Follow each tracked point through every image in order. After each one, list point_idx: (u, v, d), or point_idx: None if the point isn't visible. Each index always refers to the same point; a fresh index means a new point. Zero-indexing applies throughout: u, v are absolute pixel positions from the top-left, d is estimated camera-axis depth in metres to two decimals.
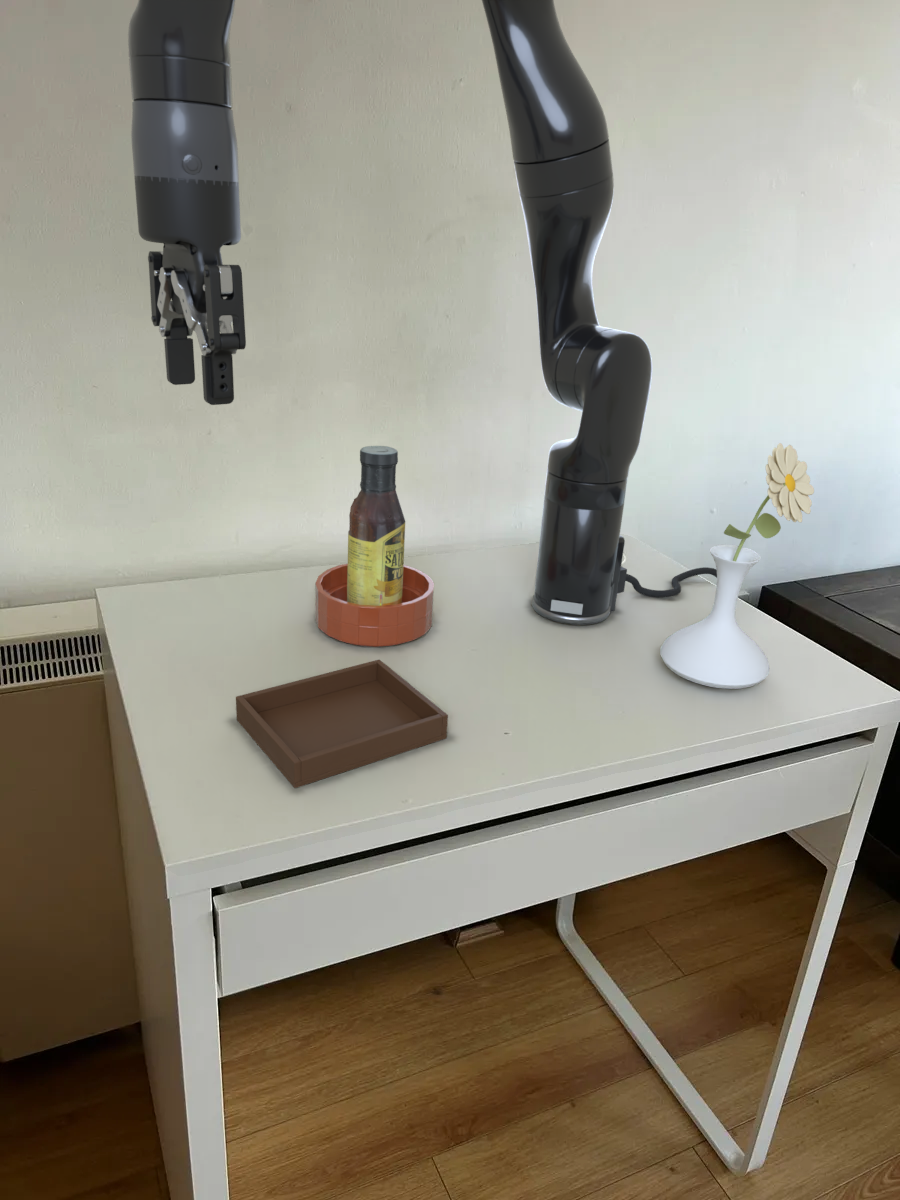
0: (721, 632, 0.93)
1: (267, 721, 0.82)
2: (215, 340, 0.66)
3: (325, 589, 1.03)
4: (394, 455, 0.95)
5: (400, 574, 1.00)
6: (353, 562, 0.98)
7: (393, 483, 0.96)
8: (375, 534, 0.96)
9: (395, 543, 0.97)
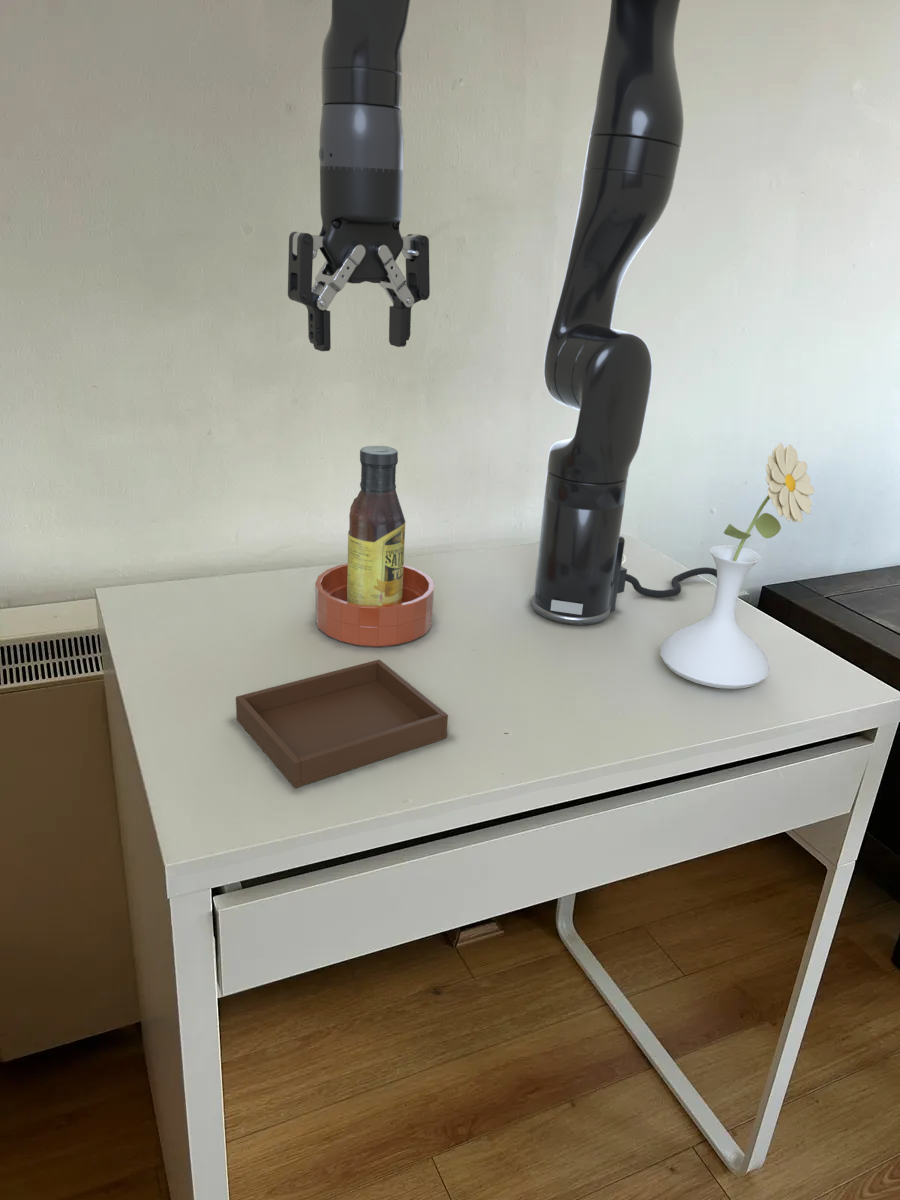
0: (721, 632, 0.93)
1: (267, 721, 0.82)
2: (288, 291, 0.83)
3: (325, 589, 1.03)
4: (394, 455, 0.95)
5: (400, 574, 1.00)
6: (353, 562, 0.98)
7: (393, 483, 0.96)
8: (375, 534, 0.96)
9: (395, 543, 0.97)
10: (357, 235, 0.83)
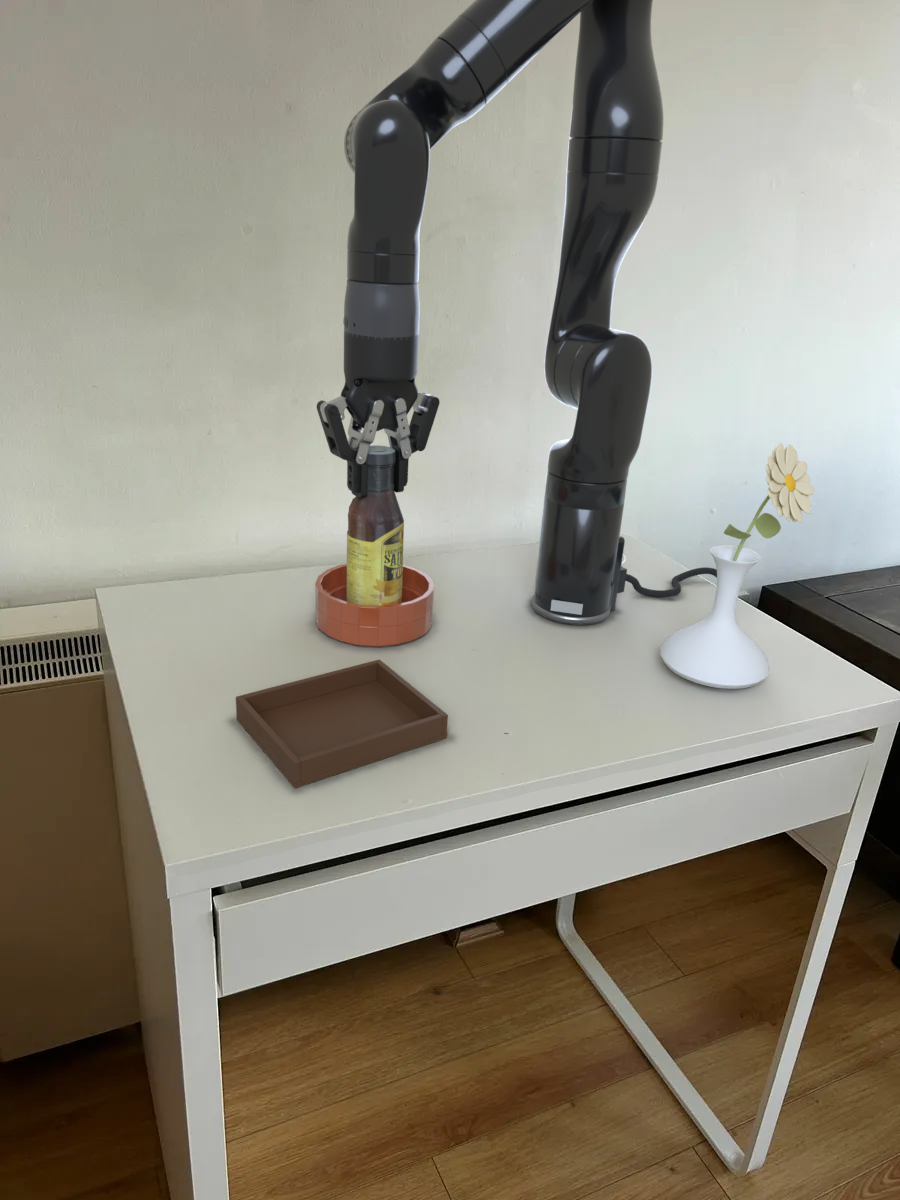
0: (721, 632, 0.93)
1: (267, 721, 0.82)
2: (330, 447, 0.93)
3: (325, 589, 1.03)
4: (391, 454, 0.95)
5: (399, 573, 1.00)
6: (352, 562, 0.98)
7: (391, 483, 0.96)
8: (374, 534, 0.96)
9: (394, 543, 0.97)
10: (377, 390, 0.91)
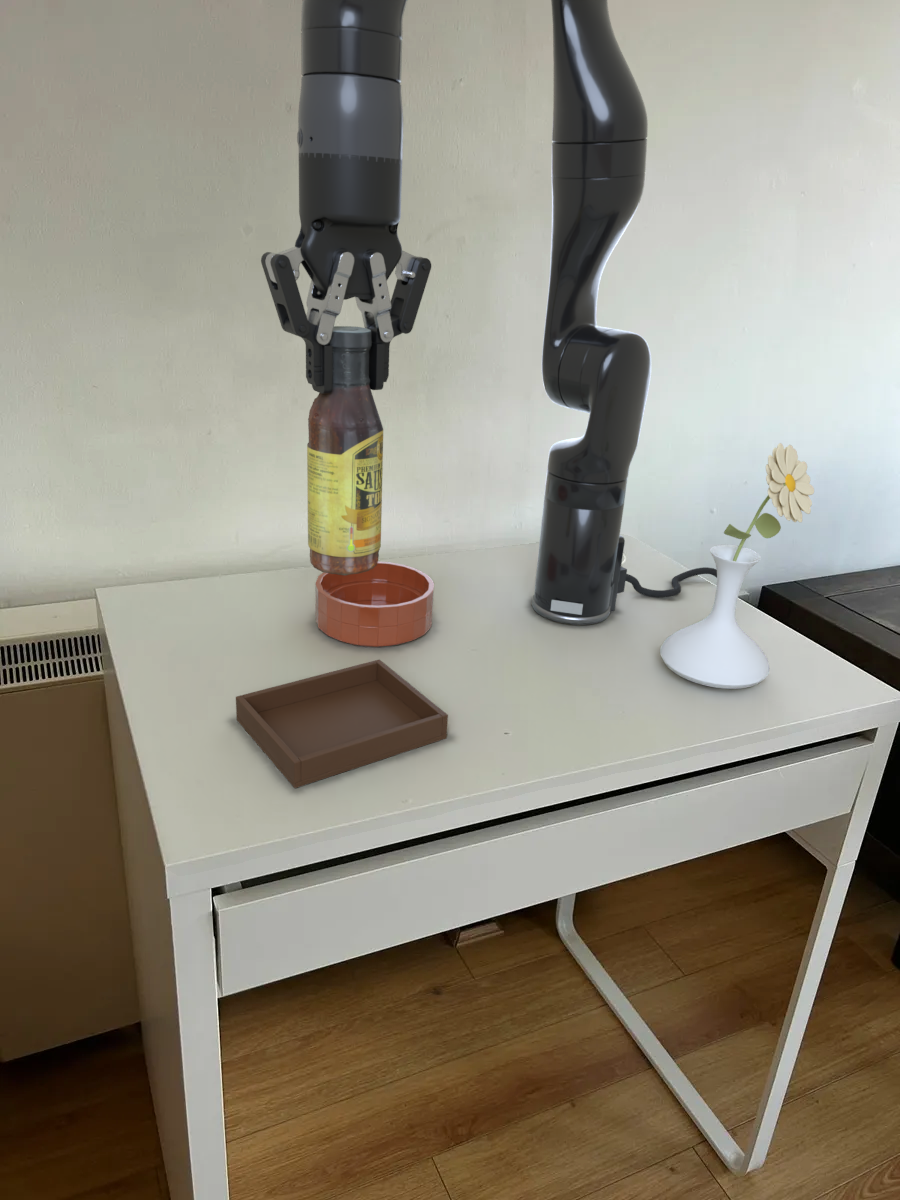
0: (721, 632, 0.93)
1: (267, 721, 0.82)
2: (281, 321, 0.68)
3: (325, 589, 1.03)
4: (366, 334, 0.70)
5: (377, 501, 0.75)
6: (313, 484, 0.73)
7: (366, 375, 0.71)
8: (342, 444, 0.71)
9: (370, 457, 0.72)
10: (344, 240, 0.66)
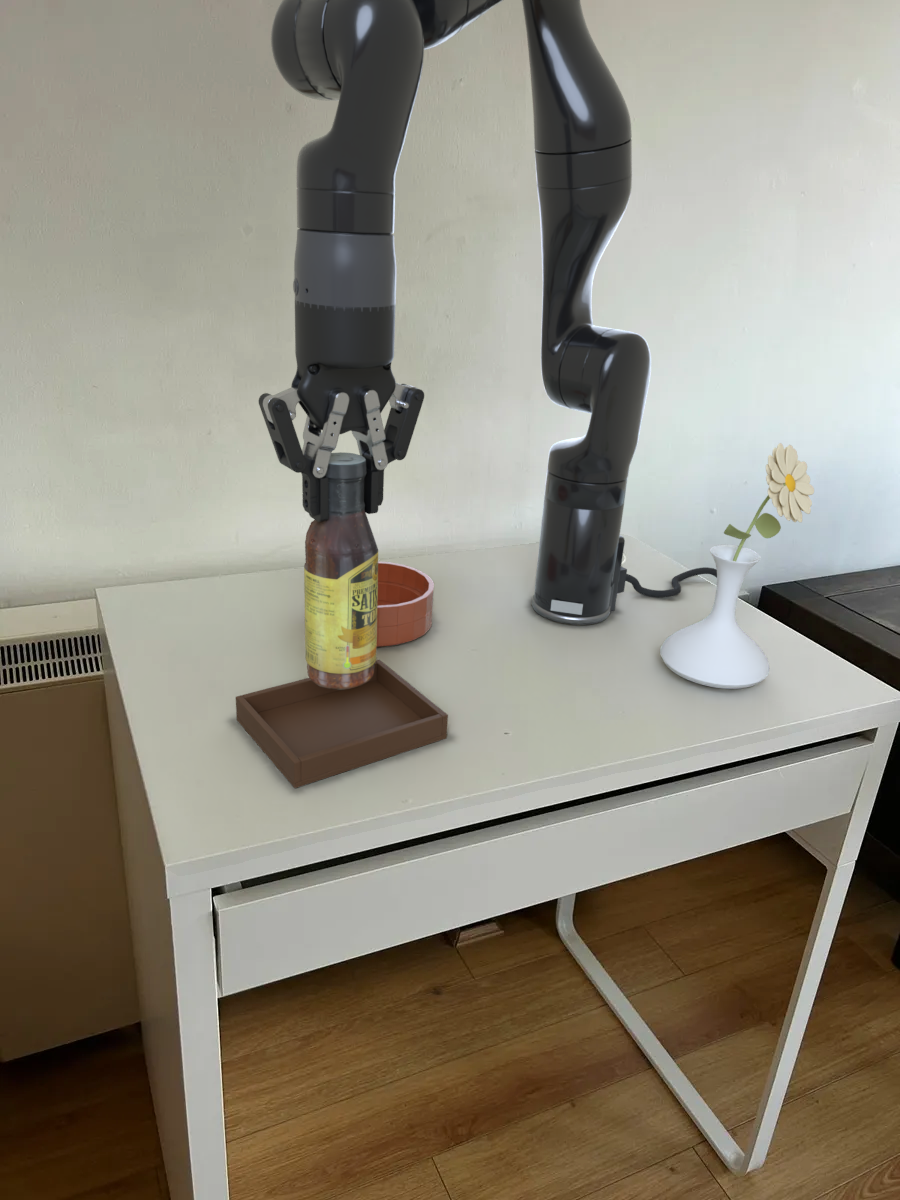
0: (721, 632, 0.93)
1: (267, 721, 0.82)
2: None
3: None
4: (361, 465, 0.72)
5: (373, 618, 0.77)
6: (310, 605, 0.75)
7: (361, 502, 0.73)
8: (338, 570, 0.73)
9: (365, 580, 0.74)
10: (339, 380, 0.68)
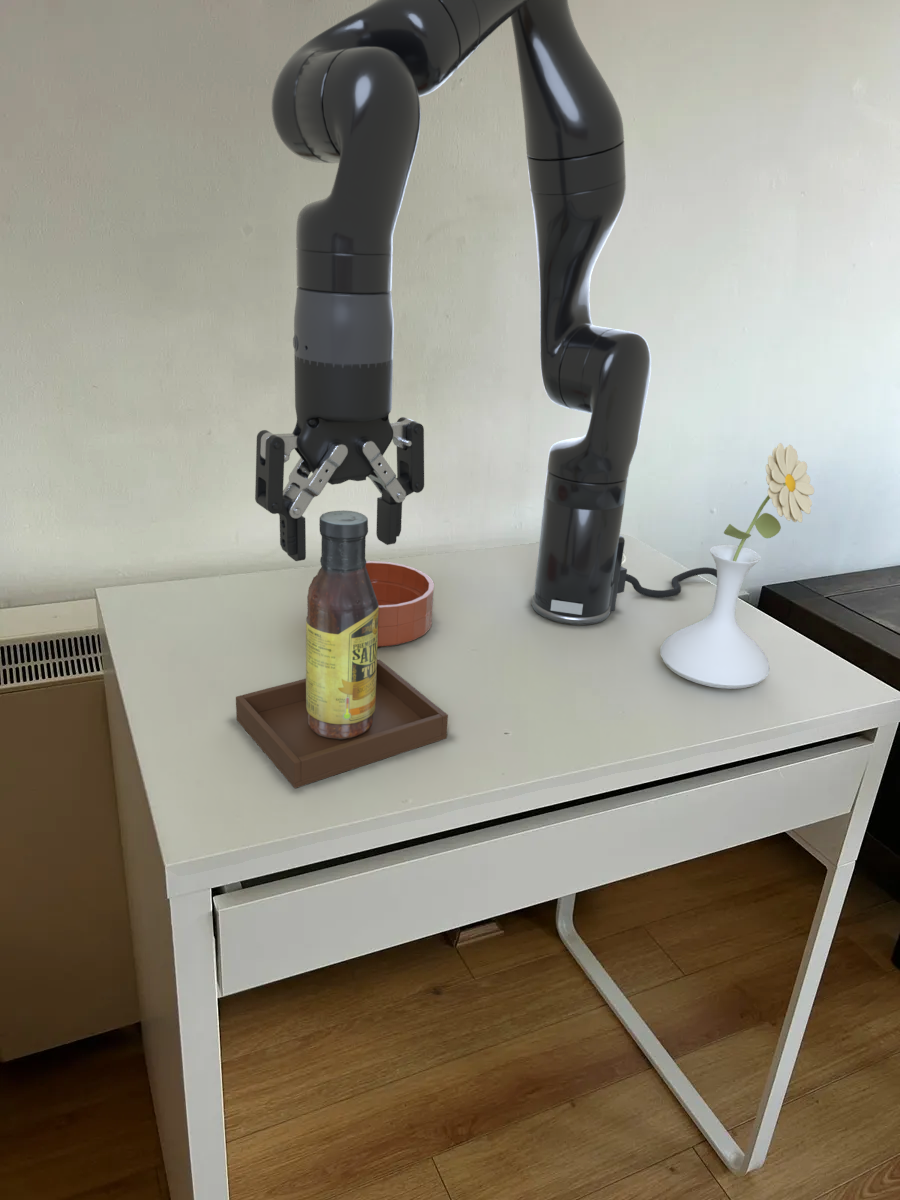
0: (721, 632, 0.93)
1: (267, 721, 0.82)
2: (255, 496, 0.70)
3: None
4: (363, 524, 0.74)
5: (372, 671, 0.79)
6: (312, 657, 0.77)
7: (362, 559, 0.76)
8: (340, 625, 0.75)
9: (365, 635, 0.77)
10: (338, 432, 0.70)
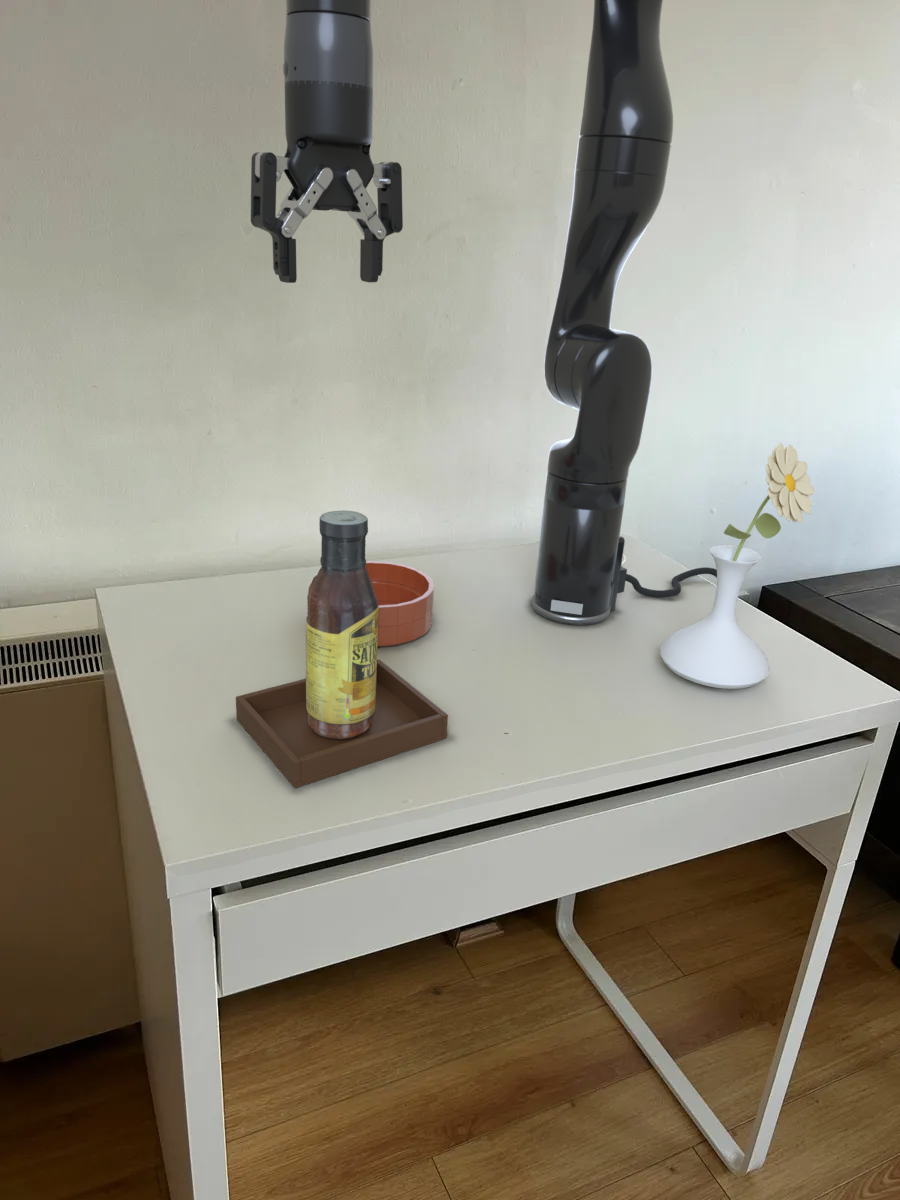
0: (721, 632, 0.93)
1: (267, 721, 0.82)
2: (251, 217, 0.78)
3: None
4: (363, 524, 0.74)
5: (372, 671, 0.79)
6: (312, 657, 0.77)
7: (362, 559, 0.76)
8: (340, 625, 0.75)
9: (365, 634, 0.77)
10: (324, 158, 0.78)
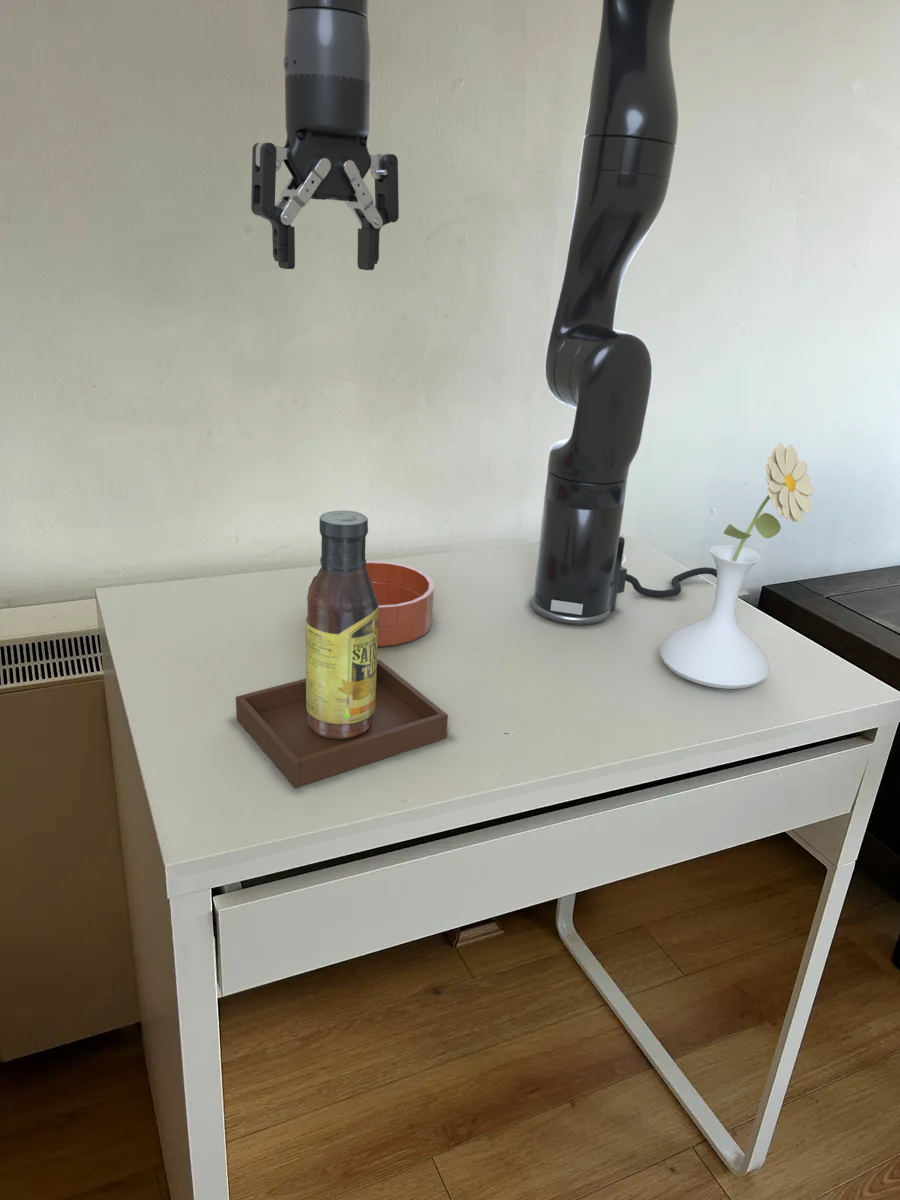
0: (721, 632, 0.93)
1: (267, 721, 0.82)
2: (251, 205, 0.82)
3: None
4: (363, 524, 0.74)
5: (372, 671, 0.79)
6: (312, 657, 0.77)
7: (362, 559, 0.76)
8: (340, 625, 0.75)
9: (365, 634, 0.77)
10: (323, 149, 0.81)
